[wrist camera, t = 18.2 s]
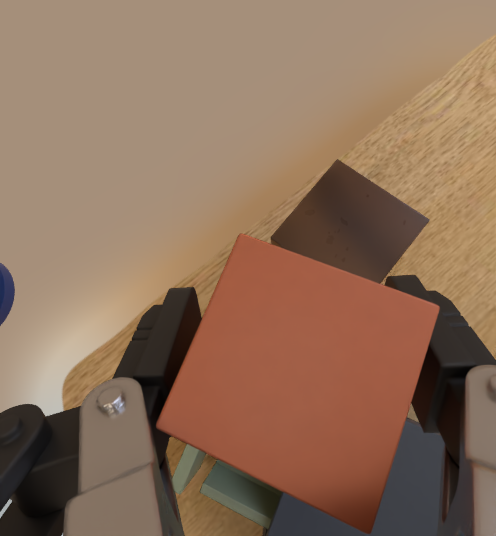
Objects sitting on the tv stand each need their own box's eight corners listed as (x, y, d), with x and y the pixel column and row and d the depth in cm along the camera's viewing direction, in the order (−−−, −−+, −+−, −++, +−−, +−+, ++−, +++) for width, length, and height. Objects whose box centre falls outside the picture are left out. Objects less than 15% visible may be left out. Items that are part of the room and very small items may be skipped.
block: (222, 388, 15) (153, 428, 7) (262, 292, 15) (238, 231, 8) (323, 434, 14) (371, 537, 6) (358, 330, 15) (442, 305, 7)
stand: (331, 325, 39) (361, 307, 24) (275, 281, 41) (270, 237, 25) (374, 271, 40) (430, 219, 24) (317, 230, 42) (337, 158, 26)
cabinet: (265, 506, 35) (259, 555, 27) (314, 376, 38) (323, 383, 29) (410, 582, 33) (456, 664, 24) (452, 437, 35) (507, 465, 27)
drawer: (141, 437, 37) (109, 456, 31) (191, 328, 40) (171, 323, 33) (313, 527, 34) (320, 572, 27) (356, 402, 36) (373, 413, 29)
